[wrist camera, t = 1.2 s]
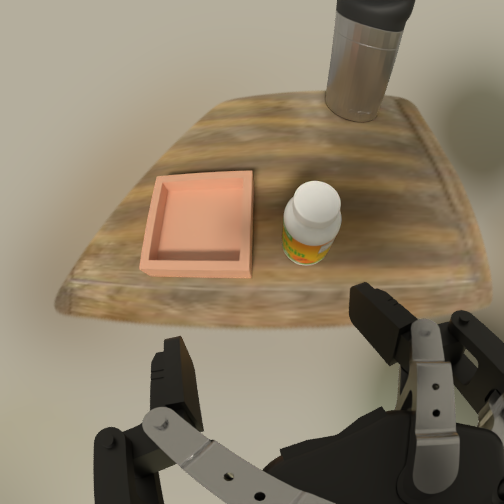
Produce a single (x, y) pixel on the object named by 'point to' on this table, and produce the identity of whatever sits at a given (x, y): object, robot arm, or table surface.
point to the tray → (200, 226)
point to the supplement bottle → (311, 222)
